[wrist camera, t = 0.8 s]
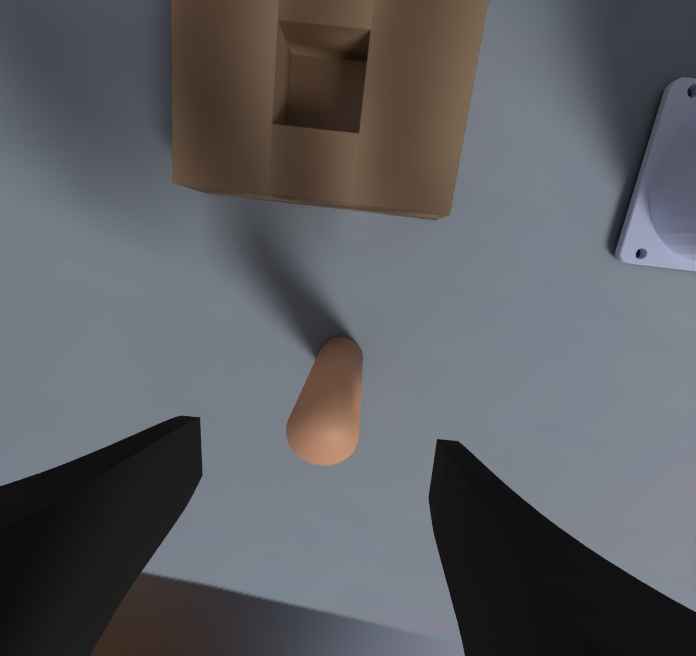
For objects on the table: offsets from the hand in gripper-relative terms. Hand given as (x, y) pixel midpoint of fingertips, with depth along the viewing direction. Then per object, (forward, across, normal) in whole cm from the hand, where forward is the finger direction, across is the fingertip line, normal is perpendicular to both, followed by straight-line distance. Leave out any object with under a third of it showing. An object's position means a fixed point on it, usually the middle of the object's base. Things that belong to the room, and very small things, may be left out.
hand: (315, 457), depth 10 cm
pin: (+9, 0, 0) cm, 9 cm away
